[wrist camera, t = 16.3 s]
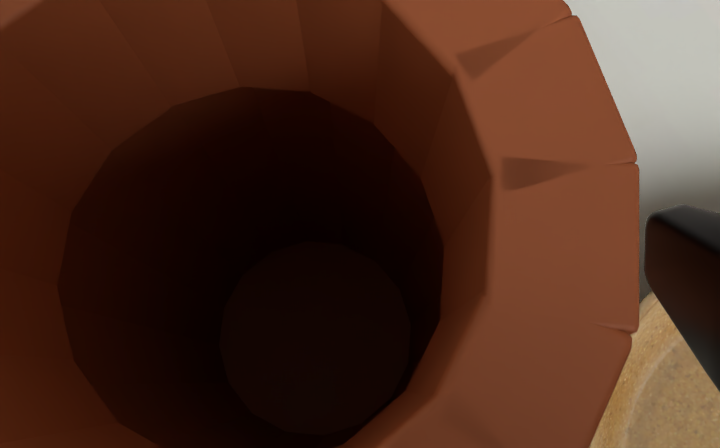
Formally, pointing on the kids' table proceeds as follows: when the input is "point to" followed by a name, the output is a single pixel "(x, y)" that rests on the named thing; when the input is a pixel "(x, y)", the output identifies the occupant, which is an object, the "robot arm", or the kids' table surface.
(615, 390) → the plant saucer
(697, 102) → the kids' table surface
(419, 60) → the jar
